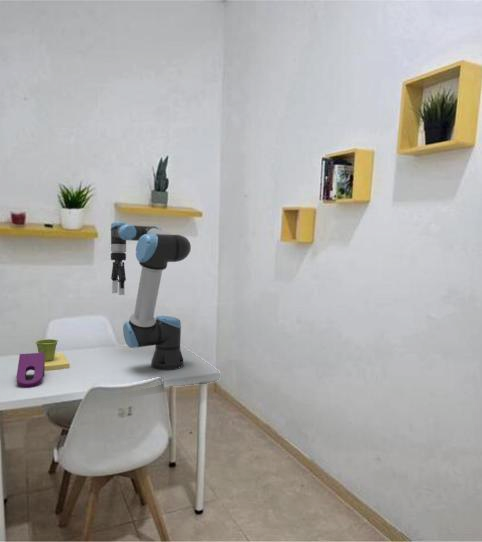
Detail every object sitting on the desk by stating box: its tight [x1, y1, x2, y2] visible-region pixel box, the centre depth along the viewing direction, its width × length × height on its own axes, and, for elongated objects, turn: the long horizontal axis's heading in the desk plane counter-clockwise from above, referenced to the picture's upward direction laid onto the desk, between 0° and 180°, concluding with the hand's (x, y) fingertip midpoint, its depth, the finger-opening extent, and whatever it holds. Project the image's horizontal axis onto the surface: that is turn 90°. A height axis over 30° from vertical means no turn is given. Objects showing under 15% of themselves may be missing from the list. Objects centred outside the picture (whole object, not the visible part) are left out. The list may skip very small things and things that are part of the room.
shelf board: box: [44, 352, 71, 372], centre depth 196 cm, size 20×12×2 cm, turn 31°
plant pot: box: [35, 338, 59, 361], centre depth 195 cm, size 9×9×9 cm
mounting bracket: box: [16, 352, 46, 388], centre depth 174 cm, size 9×8×18 cm
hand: (118, 294), depth 216 cm, fingers open, 13 cm apart
